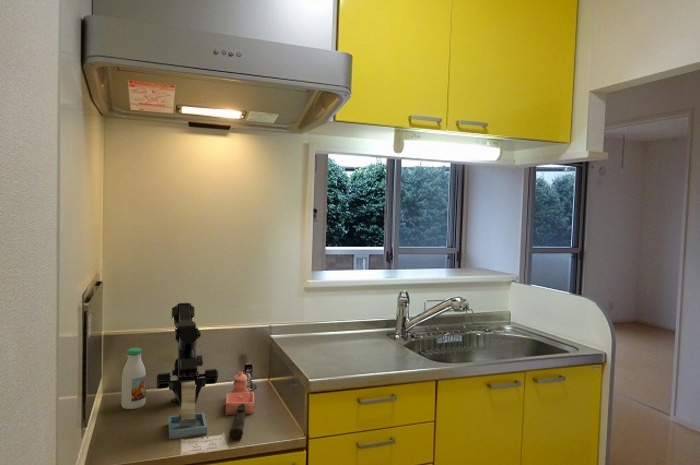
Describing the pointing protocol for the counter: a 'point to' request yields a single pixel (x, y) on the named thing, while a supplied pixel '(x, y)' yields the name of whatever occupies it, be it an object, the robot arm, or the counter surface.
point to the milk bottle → (133, 380)
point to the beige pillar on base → (187, 404)
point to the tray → (187, 427)
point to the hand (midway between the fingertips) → (188, 404)
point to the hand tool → (238, 424)
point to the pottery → (240, 396)
